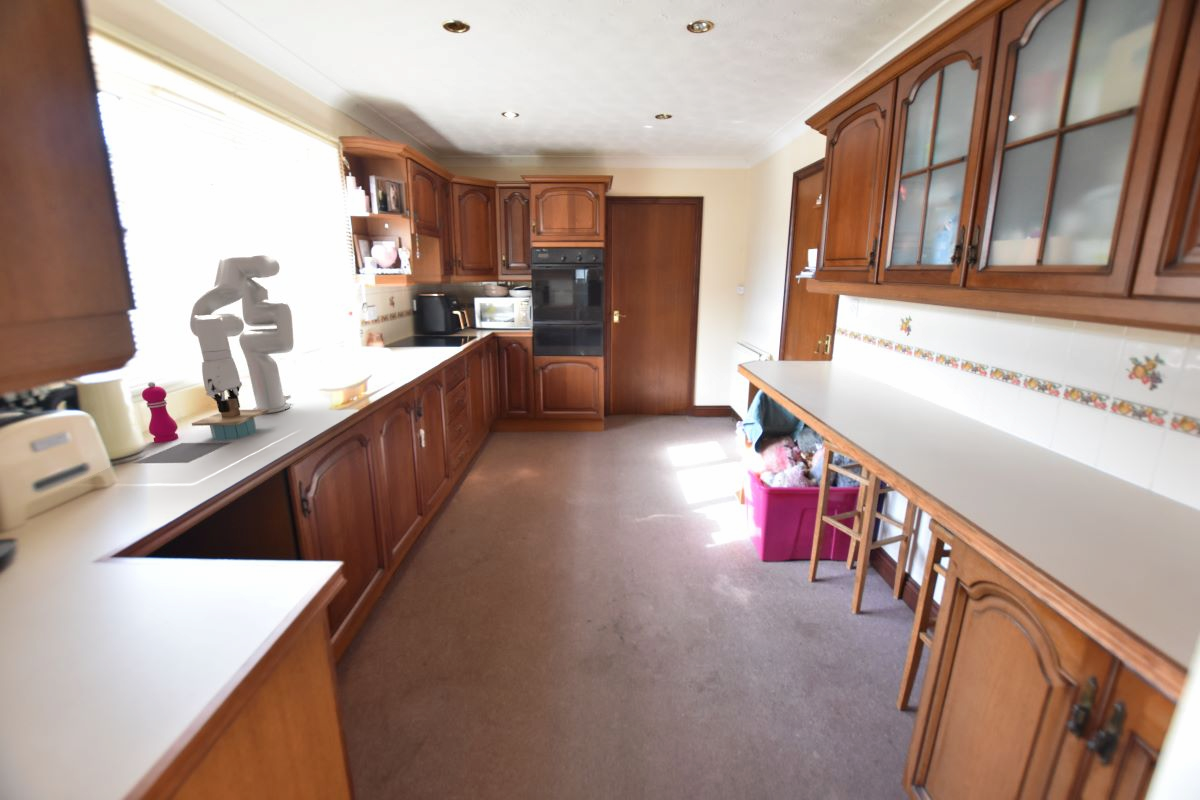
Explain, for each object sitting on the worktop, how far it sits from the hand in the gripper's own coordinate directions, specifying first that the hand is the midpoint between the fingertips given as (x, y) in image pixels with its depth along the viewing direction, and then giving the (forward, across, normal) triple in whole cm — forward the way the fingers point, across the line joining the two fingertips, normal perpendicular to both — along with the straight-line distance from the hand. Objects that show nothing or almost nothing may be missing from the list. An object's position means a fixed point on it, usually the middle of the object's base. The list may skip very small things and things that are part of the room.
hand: (229, 409), depth 172 cm
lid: (+3, 0, 0) cm, 3 cm away
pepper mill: (+9, +5, -20) cm, 23 cm away
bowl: (+9, 0, 0) cm, 9 cm away
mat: (+9, +17, -3) cm, 20 cm away
